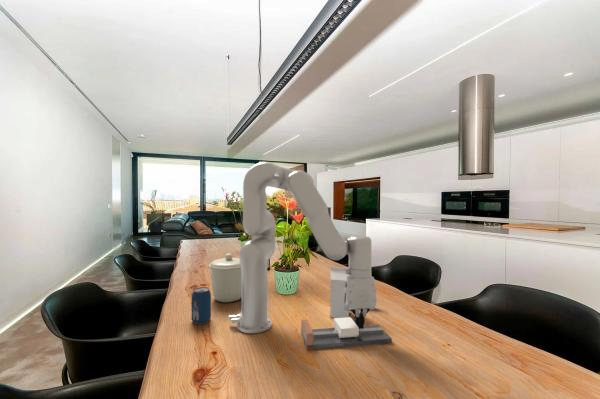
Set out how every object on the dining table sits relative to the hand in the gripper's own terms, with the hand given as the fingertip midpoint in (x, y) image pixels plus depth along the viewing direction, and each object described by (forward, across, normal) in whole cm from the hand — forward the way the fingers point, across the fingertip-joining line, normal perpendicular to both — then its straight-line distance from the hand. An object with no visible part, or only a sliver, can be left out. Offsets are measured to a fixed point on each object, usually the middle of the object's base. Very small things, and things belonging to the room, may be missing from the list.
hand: (359, 327), depth 94 cm
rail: (+4, -5, 0) cm, 6 cm away
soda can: (+4, -55, +21) cm, 59 cm away
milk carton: (+4, -1, +19) cm, 19 cm away
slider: (+2, -5, 0) cm, 5 cm away
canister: (+4, -47, +44) cm, 64 cm away
